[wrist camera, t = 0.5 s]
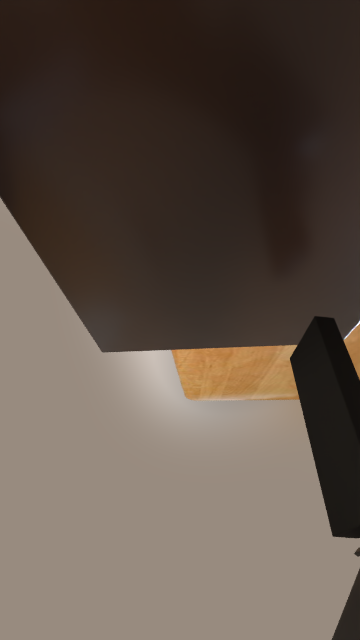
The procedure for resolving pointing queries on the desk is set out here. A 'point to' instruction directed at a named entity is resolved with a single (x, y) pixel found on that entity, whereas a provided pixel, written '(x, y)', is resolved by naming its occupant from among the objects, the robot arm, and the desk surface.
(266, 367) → the desk surface
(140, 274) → the cabinet
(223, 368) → the desk surface
